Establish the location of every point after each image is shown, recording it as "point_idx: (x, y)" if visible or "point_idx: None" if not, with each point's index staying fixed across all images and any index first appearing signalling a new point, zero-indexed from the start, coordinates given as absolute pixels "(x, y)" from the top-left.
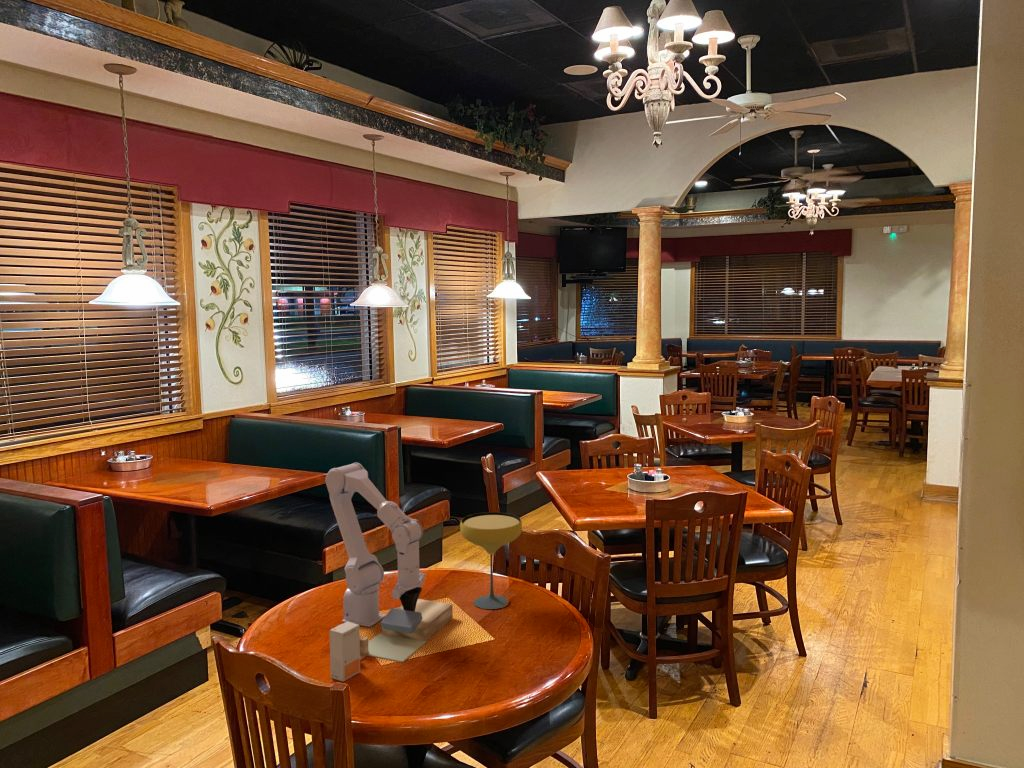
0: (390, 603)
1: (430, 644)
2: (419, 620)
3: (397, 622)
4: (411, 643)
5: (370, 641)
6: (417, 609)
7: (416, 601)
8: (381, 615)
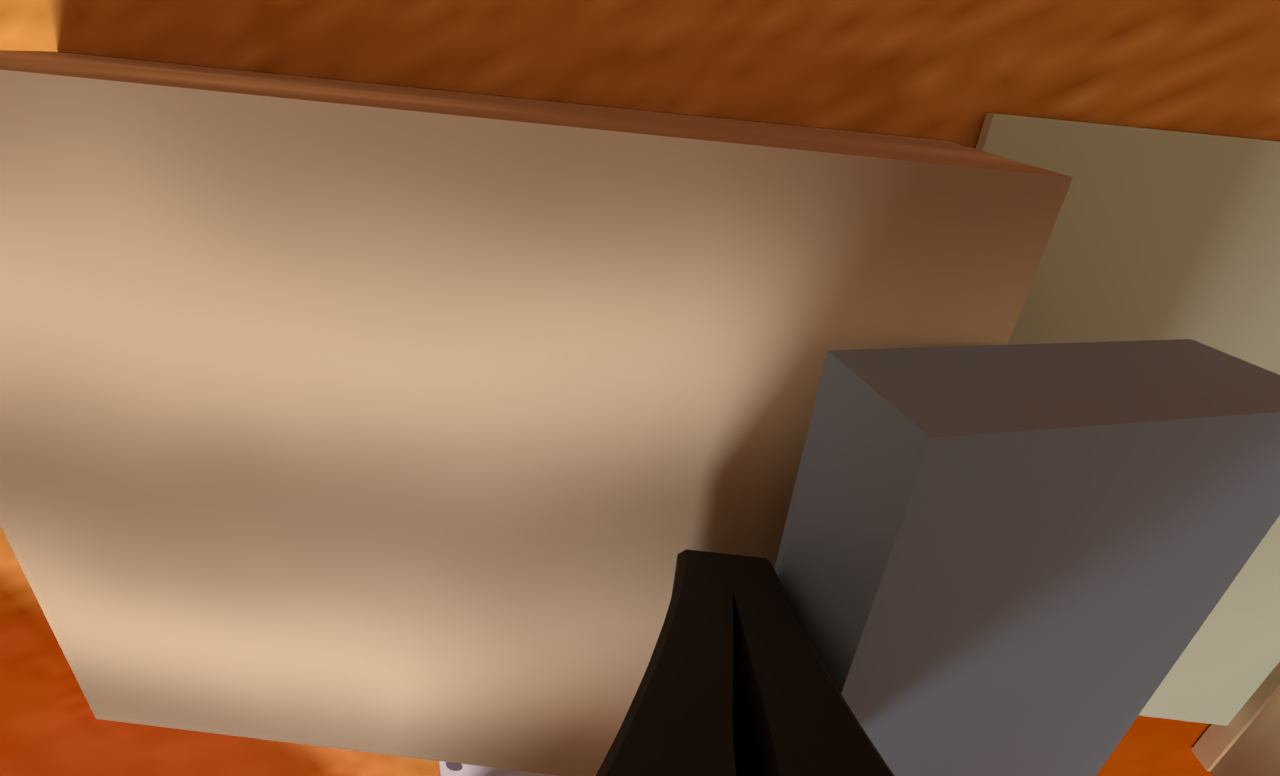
0: (198, 764)
1: (1056, 7)
2: (968, 368)
3: (1121, 673)
4: (1074, 297)
5: None
6: (372, 560)
7: (664, 765)
8: (470, 765)
